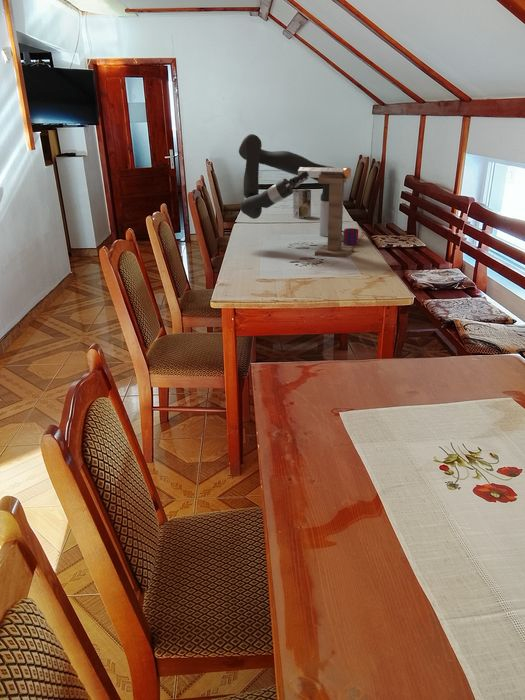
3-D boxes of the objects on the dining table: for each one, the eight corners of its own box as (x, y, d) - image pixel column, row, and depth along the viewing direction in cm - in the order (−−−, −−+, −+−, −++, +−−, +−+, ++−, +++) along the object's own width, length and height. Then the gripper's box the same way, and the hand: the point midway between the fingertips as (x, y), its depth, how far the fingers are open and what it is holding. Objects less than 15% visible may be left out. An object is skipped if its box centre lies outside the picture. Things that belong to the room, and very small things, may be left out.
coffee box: (304, 215, 332) (305, 188, 325) (311, 217, 327) (311, 189, 320) (292, 217, 327) (292, 189, 321) (298, 218, 322) (299, 190, 316)
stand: (323, 248, 247) (325, 172, 234) (353, 250, 242) (357, 172, 229) (314, 255, 235) (316, 175, 222) (345, 257, 230) (349, 176, 217)
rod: (301, 174, 234) (300, 164, 231) (351, 175, 226) (350, 165, 223) (298, 179, 232) (296, 170, 229) (348, 180, 223) (348, 171, 220)
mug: (357, 245, 252) (358, 231, 249) (336, 245, 253) (336, 230, 251) (357, 242, 258) (358, 228, 255) (336, 242, 259) (337, 228, 257)
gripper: (270, 185, 231) (301, 165, 223) (281, 181, 243) (311, 163, 235) (278, 200, 232) (309, 182, 224) (289, 196, 244) (319, 178, 236)
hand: (310, 172), depth 229 cm, fingers open, 8 cm apart
